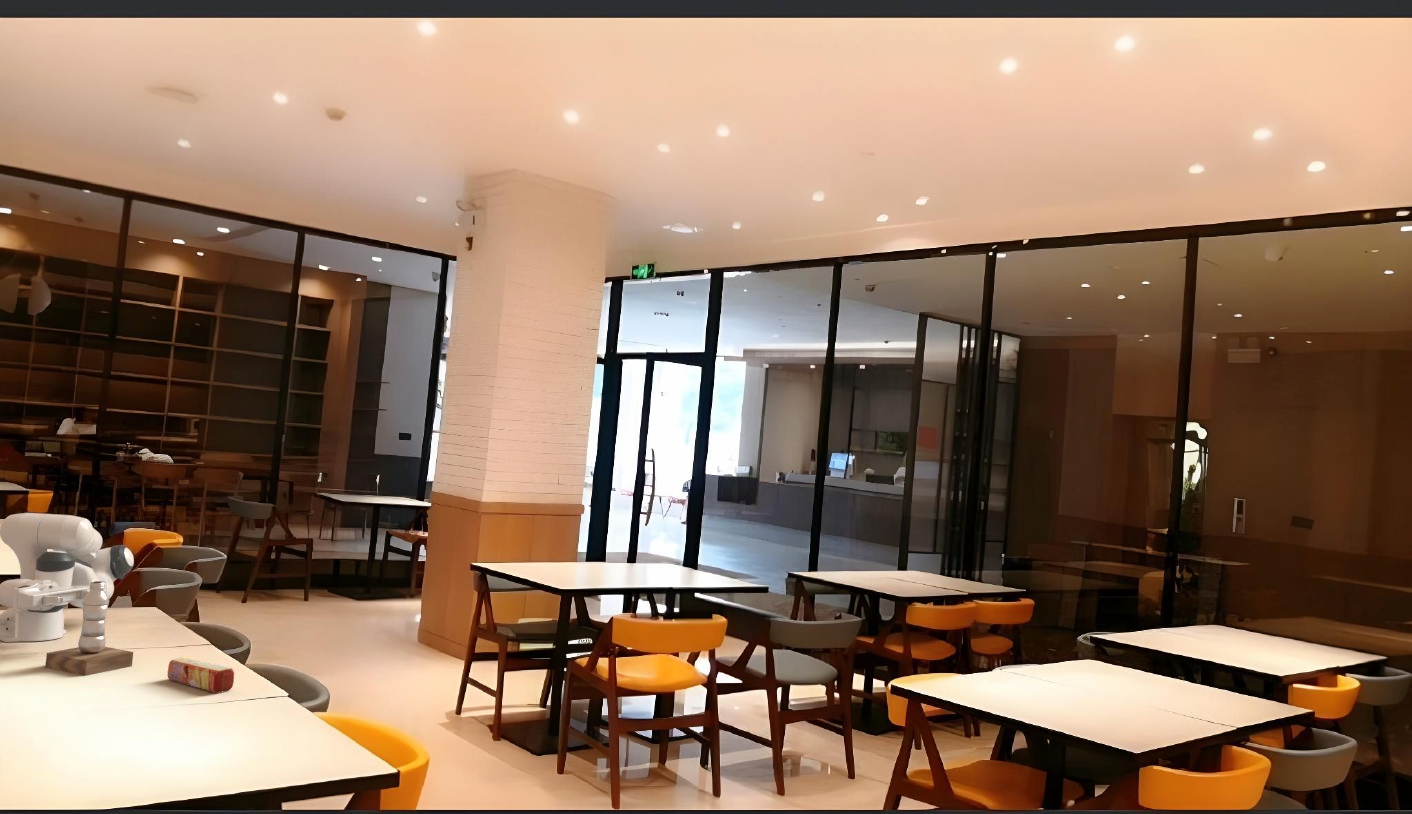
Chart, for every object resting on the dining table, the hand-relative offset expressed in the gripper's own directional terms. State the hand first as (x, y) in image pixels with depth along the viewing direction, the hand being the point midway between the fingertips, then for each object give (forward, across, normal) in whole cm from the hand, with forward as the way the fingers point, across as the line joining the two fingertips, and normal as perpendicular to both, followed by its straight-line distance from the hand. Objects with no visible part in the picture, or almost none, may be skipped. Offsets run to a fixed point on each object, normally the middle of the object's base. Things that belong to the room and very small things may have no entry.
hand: (76, 597), depth 274 cm
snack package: (+48, +1, -22) cm, 53 cm away
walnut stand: (+9, +2, -19) cm, 21 cm away
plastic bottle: (+9, +2, -15) cm, 18 cm away
